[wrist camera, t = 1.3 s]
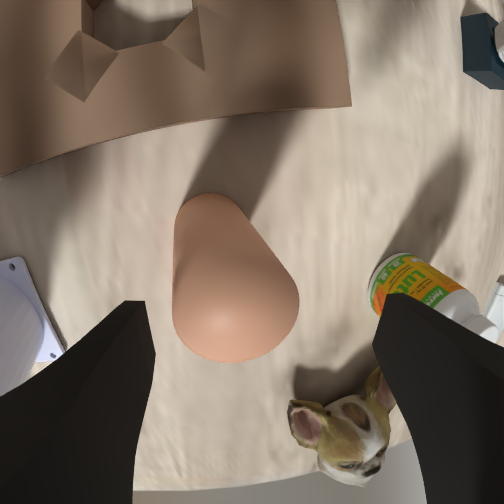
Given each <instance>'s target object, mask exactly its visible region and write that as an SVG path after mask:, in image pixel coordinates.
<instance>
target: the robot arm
mask: <svg viewBox="0 0 504 504" xmlns="http://www.w3.org/2000/svg"><path fill="white" fill-rule="evenodd" d="M11 264H13V265H14V266H15V269H14V268H13V267H12V265H11ZM372 345H373V349H374V352H375V355H376V358H377V361H378V364H379V367H380V369H381V372H382V374H383V376H384V378H385V380H386V382H387V384H388V386H389V388H390V390H391V392H392V394H393V396H394V398H395V400H396V403H397V405H398V407H399V409H400V411H401V413H402V415H403V417H404V419H405V421H406V423H407V426H408V428H409V431H410V433H411V436H412V439H413V442H414V446H415V449H416V452H417V456H418V460H419V464H420V467H421V472H422V476H423V481H424V486H425V493H426V499H427V504H504V347H502V346H499V345H497V344H495V343H493V342H491V341H489V340H487V339H485V338H483V337H482V336H480V335H478V334H476V333H474V332H472V331H470V330H469V329H467V328H465V327H463V326H462V325H460V324H458V323H457V322H455V321H453V320H452V319H450V318H448V317H447V316H445V315H443V314H441V313H440V312H438V311H436V310H435V309H433V308H431V307H430V306H428V305H426V304H424V303H423V302H421V301H419V300H417V299H415V298H413V297H411V296H409V295H407V294H405V293H391V294H387V295H386V298H385V302H384V306H383V309H382V313H381V317H380V320H379V324H378V327H377V330H376V334H375V337H374V340H373V343H372ZM53 353H54V354H55V355H54V354H53ZM155 356H156V353H155V349H154V344H153V340H152V335H151V330H150V326H149V321H148V316H147V311H146V305H145V301H124V302H123V303H121V304H120V305H119V306H118V307H116V308H115V309H114V310H113V311H112V312H111V313H110V314H109V315H107V316H106V317H105V318H104V319H103V320H102V321H101V322H100V323H99V324H97V325H96V326H95V327H94V328H93V329H92V330H91V331H89V332H88V333H87V334H86V335H85V336H84V337H83V338H82V339H81V340H79V341H78V342H77V343H76V344H74V345H73V346H72V347H71V348H70V349H68V350H67V351H66V352H65V350H64V348H63V346H62V344H61V342H60V341H59V339H58V337H57V335H56V333H55V331H54V329H53V327H52V325H51V322H50V320H49V318H48V316H47V314H46V312H45V310H44V307H43V305H42V303H41V301H40V298H39V296H38V294H37V291H36V289H35V286H34V284H33V281H32V279H31V276H30V274H29V271H28V268H27V266H26V263H25V261H24V259H23V258H22V257H20V256H17V257H13V258H10V259H6V260H3V261H0V504H132V494H133V476H134V464H135V455H136V449H137V443H138V439H139V435H140V430H141V426H142V422H143V418H144V414H145V410H146V406H147V402H148V398H149V394H150V390H151V386H152V380H153V373H154V364H155ZM46 361H54V362H52V363H51V364H50V365H49V366H47V367H46V368H44V369H43V370H42V371H40V372H39V373H37V374H36V375H34V376H33V377H32V378H30V379H29V380H27V379H28V376H29V374H30V372H31V369H32V367H33V365H34V363H35V362H46Z"/></svg>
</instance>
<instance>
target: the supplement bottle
mask: <svg viewBox="0 0 504 504" xmlns="http://www.w3.org/2000/svg"><path fill="white" fill-rule="evenodd" d="M391 293H405V294H407V295H409V296H411V297H413V298H415V299H417V300H419V301H421V302H423V303H424V304H426V305H428V306H430V307H431V308H433V309H435V310H436V311H438V312H440V313H441V314H443V315H445V316H447V317H448V318H450V319H452V320H453V321H455V322H457V323H458V324H460V325H462V326H463V327H465V328H467V329H469V330H470V331H472V332H474V333H476V334H478V335H480V336H482V337H483V338H485V339H487V340H489V341H491V342H493V343H496V341H497V338H498V328H497V326H496V325H495V324H494V323H492V322H491V321H490V320H489V319H488V318H486V317H485V316H483V315H481V314H479V305H478V301H477V299H476V298H475V296H474V295H473V294H472V293H470V292H469V291H468V290H466V289H465V288H464V287H462V286H461V285H459V284H458V283H456V282H455V281H453V280H452V279H451V278H449V277H447V276H446V275H444V274H443V273H441V272H440V271H438V270H437V269H435V268H434V267H432V266H431V265H429V264H427V263H426V262H424V261H423V260H421V259H420V258H418V257H416V256H414V255H413V254H410V253H398V254H395V255H392V256H390V257H389V258H387V259H386V260H385V261H384V262H382V263H381V265H380V266H379V267H378V268H377V269H376V271H375V273H374V274H373V276H372V278H371V281H370V284H369V287H368V301H369V304H370V306H371V308H372V309H373V310H374V311H375V312H376V314H377V315H378V316H379V317H381V313H382V309H383V306H384V302H385V298H386V295H387V294H391Z"/></svg>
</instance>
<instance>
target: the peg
mask: <svg viewBox="0 0 504 504" xmlns="http://www.w3.org/2000/svg"><path fill="white" fill-rule="evenodd" d="M298 311H299V293H298V290H297V286H296V284H295V282H294V280H293V279H292V277H291V276H290V274H289V273H288V272H287V270H286V269H285V268H284V266H283V265H282V264H281V262H280V261H279V260H278V258H277V257H276V256H275V254H274V253H273V252H272V250H271V249H270V248H269V246H268V245H267V244H266V242H265V241H264V240H263V239H262V237H261V236H260V235H259V233H258V232H257V231H256V229H255V228H254V227H253V225H252V224H251V223H250V221H249V220H248V219H247V218H246V216H245V215H244V214H243V212H242V211H241V210H240V208H239V207H238V206H237V205H236V204H235V202H233V201H232V200H231V199H229V198H228V197H226V196H224V195H221V194H217V193H204V194H200V195H197V196H195V197H193V198H191V199H190V200H188V201H187V202H186V203H185V204H184V205H183V206H182V207H181V209H180V210H179V212H178V214H177V216H176V220H175V227H174V249H173V283H172V318H173V324H174V328H175V330H176V333H177V335H178V337H179V338H180V340H181V341H182V342H183V343H184V345H185V346H186V347H187V348H189V349H190V350H191V351H192V352H194V353H195V354H197V355H199V356H201V357H203V358H205V359H208V360H212V361H216V362H223V363H235V362H243V361H248V360H251V359H254V358H257V357H259V356H262V355H264V354H266V353H267V352H269V351H271V350H272V349H274V348H275V347H276V346H277V345H279V344H280V343H281V342H282V341H283V340H284V339H285V338H286V336H287V335H288V334H289V332H290V331H291V329H292V328H293V326H294V324H295V321H296V319H297V315H298Z"/></svg>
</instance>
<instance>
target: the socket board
mask: <svg viewBox="0 0 504 504" xmlns="http://www.w3.org/2000/svg"><path fill="white" fill-rule="evenodd" d="M102 1H103V0H0V178H1V177H3V176H6V175H8V174H11V173H13V172H16V171H18V170H21V169H23V168H26V167H28V166H31V165H34V164H36V163H39V162H42V161H45V160H48V159H50V158H53V157H56V156H59V155H62V154H65V153H68V152H72V151H75V150H78V149H81V148H85V147H88V146H91V145H95V144H98V143H102V142H106V141H109V140H113V139H117V138H121V137H125V136H129V135H133V134H137V133H141V132H146V131H150V130H155V129H160V128H165V127H170V126H175V125H180V124H185V123H191V122H197V121H203V120H209V119H216V118H223V117H230V116H238V115H246V114H255V113H265V112H275V111H288V110H303V109H325V108H339V107H350V106H352V102H351V93H350V85H349V77H348V70H347V62H346V56H345V49H344V43H343V37H342V32H341V26H340V21H339V16H338V11H337V6H336V1H335V0H192V4H193V11H192V12H191V13H190V14H189V15H188V16H187V17H186V18H185V19H184V20H183V21H182V22H181V23H180V24H179V25H178V26H177V27H176V29H175V30H174V31H173V32H172V33H171V34H170V35H169V36H168V37H167V38H166V40H162V41H157V42H152V43H147V44H142V45H138V46H134V47H129V48H125V49H121V50H117V51H115V50H114V49H112V48H110V47H108V46H107V45H105V44H103V43H101V42H99V41H98V40H96V39H94V27H93V11H94V10H95V8H96V7H97V6H98V5H99V4H100V3H101V2H102Z"/></svg>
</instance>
